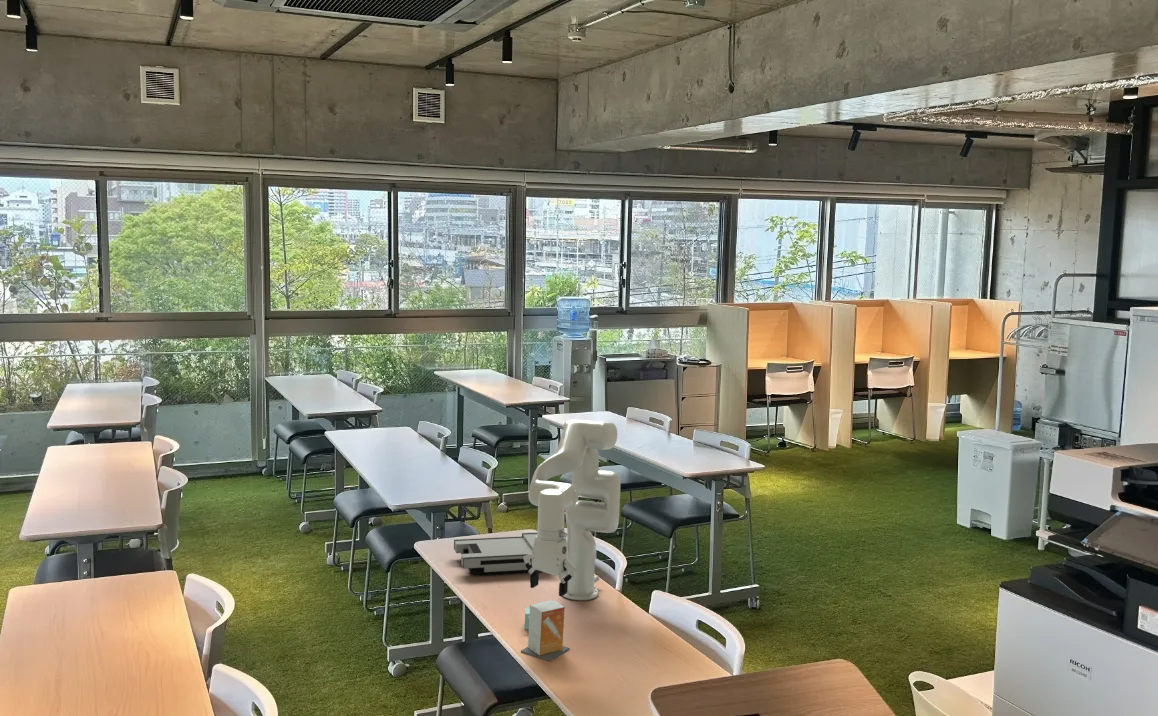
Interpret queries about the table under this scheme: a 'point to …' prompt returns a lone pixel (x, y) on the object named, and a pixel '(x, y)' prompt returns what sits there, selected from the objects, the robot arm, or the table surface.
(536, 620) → the small box
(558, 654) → the pad
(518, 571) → the gray flat machine
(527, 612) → the letter cube
